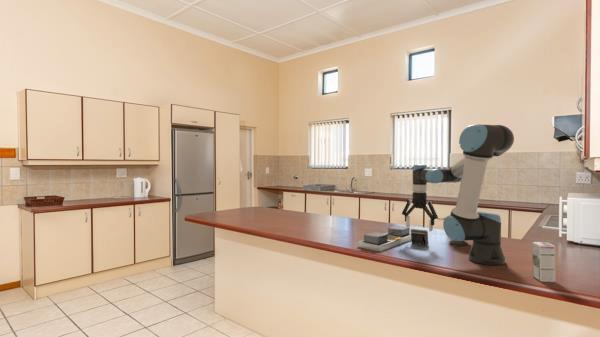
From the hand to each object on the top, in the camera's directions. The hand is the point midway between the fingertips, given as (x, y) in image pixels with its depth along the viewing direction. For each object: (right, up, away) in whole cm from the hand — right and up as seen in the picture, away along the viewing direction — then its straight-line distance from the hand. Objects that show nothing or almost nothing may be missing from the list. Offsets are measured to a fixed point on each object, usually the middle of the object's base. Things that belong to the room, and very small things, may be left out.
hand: (419, 229), depth 187 cm
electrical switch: (0, -9, 0) cm, 9 cm away
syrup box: (+30, -10, -55) cm, 64 cm away
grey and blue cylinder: (+24, -9, +4) cm, 26 cm away
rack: (-16, -9, +6) cm, 19 cm away
